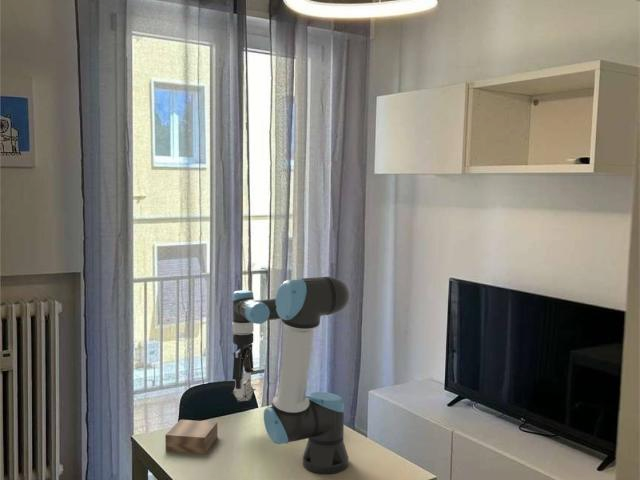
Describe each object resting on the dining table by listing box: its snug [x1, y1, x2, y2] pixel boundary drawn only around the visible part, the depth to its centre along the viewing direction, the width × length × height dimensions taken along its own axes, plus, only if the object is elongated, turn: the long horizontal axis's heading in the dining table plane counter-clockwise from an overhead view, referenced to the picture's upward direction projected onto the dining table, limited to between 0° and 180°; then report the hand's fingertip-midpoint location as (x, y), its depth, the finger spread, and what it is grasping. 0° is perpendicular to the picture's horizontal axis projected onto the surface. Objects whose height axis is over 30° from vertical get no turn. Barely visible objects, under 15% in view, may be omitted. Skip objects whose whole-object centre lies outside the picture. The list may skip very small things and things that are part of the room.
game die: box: [230, 379, 257, 404], centre depth 227 cm, size 9×8×10 cm
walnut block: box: [164, 419, 218, 455], centre depth 216 cm, size 14×14×6 cm
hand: (243, 392), depth 227 cm, fingers closed on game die, 8 cm apart
